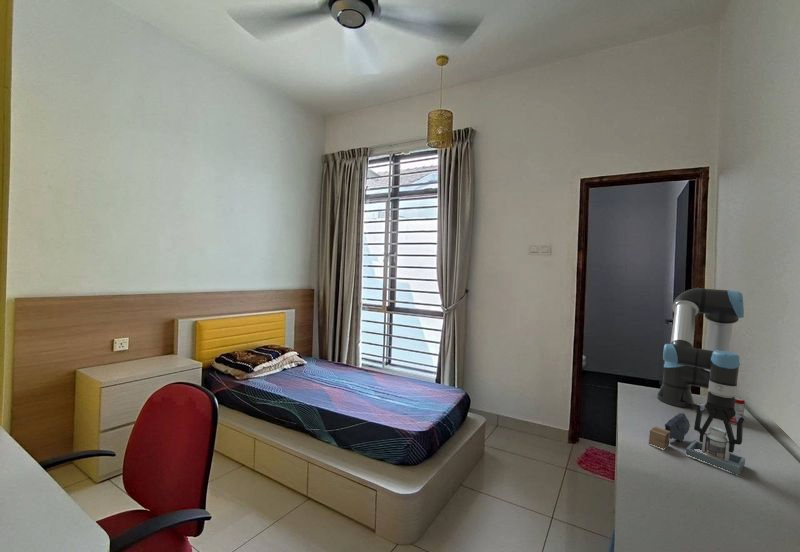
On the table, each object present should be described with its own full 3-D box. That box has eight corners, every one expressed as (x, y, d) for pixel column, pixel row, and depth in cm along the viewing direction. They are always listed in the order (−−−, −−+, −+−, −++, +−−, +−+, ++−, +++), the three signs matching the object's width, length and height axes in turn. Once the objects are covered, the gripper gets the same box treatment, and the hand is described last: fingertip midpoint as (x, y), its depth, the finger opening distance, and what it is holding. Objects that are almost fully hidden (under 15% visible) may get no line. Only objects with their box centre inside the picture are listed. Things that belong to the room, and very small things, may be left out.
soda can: (731, 419, 169) (733, 394, 168) (745, 424, 164) (748, 399, 163) (723, 420, 167) (726, 395, 166) (737, 425, 162) (740, 400, 161)
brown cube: (654, 440, 145) (655, 426, 145) (668, 446, 141) (670, 431, 141) (648, 444, 142) (650, 430, 141) (663, 450, 138) (665, 435, 137)
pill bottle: (705, 450, 136) (708, 424, 135) (726, 456, 132) (729, 430, 131) (704, 455, 132) (706, 429, 131) (725, 462, 128) (727, 435, 127)
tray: (693, 447, 141) (694, 440, 141) (744, 466, 129) (745, 458, 129) (685, 456, 134) (686, 448, 134) (738, 476, 123) (739, 467, 123)
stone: (679, 447, 140) (682, 423, 140) (661, 441, 145) (663, 417, 144) (689, 437, 149) (691, 414, 148) (671, 431, 154) (673, 408, 153)
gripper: (686, 387, 135) (680, 446, 137) (755, 405, 121) (748, 471, 122) (692, 384, 140) (686, 441, 141) (759, 400, 125) (752, 464, 127)
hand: (715, 455), depth 132 cm, fingers closed on pill bottle, 6 cm apart
